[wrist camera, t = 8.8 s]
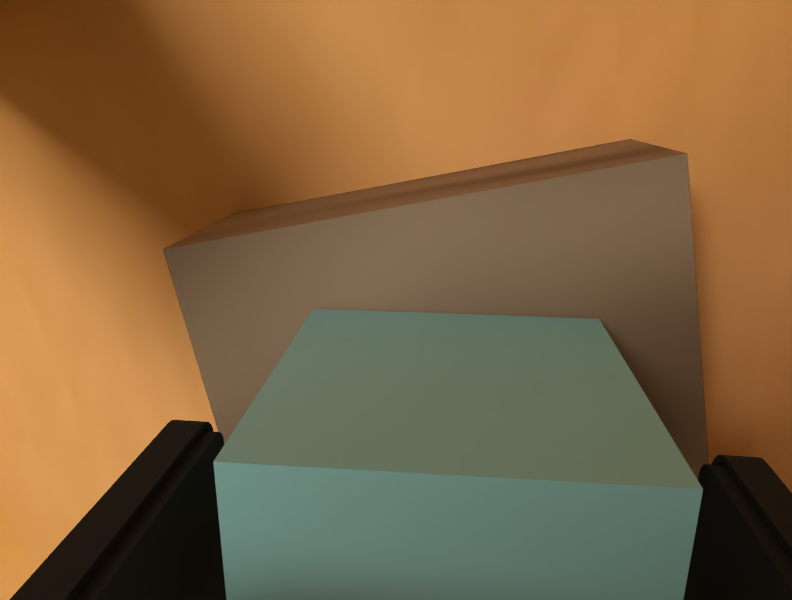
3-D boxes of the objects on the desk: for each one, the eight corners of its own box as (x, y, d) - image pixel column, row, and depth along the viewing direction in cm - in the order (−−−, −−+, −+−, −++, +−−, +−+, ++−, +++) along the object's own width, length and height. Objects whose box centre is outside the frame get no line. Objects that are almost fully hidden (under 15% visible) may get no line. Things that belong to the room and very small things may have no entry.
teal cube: (313, 308, 12) (213, 461, 7) (599, 319, 11) (703, 489, 6) (322, 542, 13) (245, 798, 8) (572, 558, 13) (640, 837, 8)
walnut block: (236, 211, 15) (163, 249, 12) (625, 137, 14) (687, 153, 10) (321, 530, 18) (284, 648, 14) (659, 494, 17) (718, 612, 13)
